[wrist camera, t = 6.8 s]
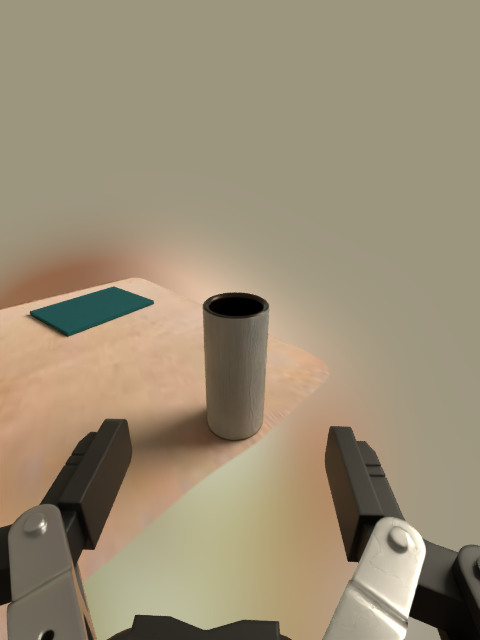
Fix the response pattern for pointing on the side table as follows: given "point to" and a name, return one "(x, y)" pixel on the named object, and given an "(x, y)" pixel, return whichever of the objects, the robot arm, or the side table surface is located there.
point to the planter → (235, 363)
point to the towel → (90, 310)
